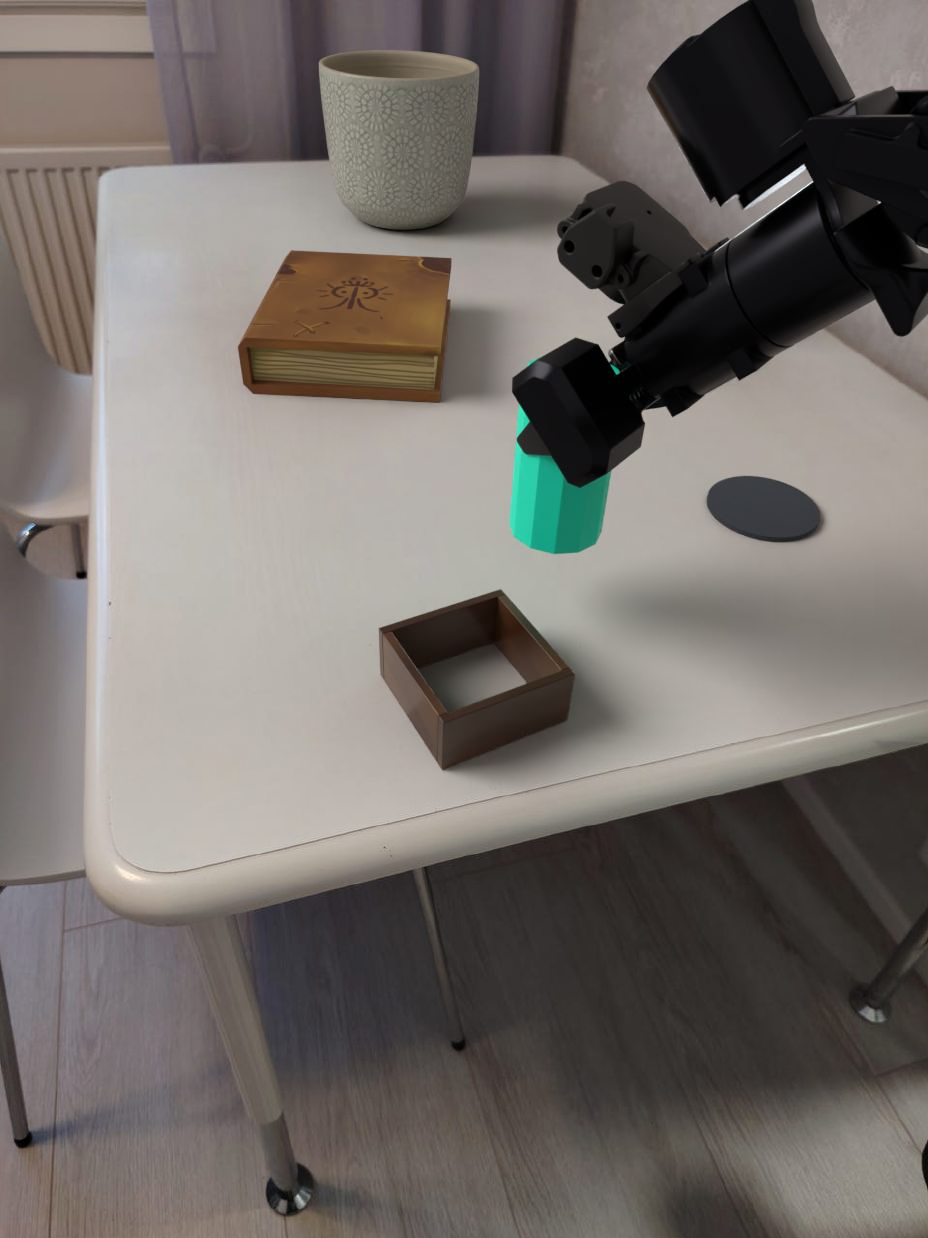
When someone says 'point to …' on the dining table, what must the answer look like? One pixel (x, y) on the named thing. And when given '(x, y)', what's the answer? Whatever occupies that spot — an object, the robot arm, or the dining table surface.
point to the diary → (350, 328)
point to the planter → (399, 133)
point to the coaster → (763, 508)
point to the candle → (553, 503)
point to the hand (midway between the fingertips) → (547, 428)
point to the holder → (487, 718)
